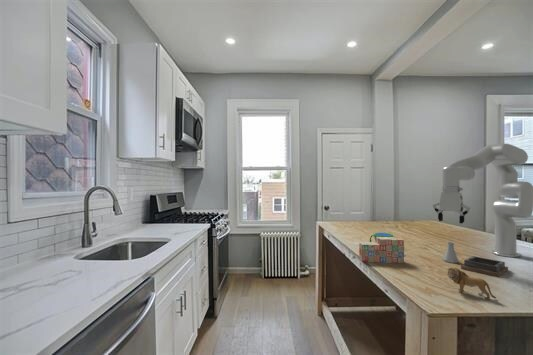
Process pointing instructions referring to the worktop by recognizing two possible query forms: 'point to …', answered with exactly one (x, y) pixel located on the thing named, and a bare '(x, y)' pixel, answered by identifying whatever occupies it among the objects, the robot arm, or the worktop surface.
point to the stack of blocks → (382, 250)
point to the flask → (450, 254)
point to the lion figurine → (468, 281)
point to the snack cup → (381, 235)
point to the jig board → (484, 266)
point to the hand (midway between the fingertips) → (450, 222)
